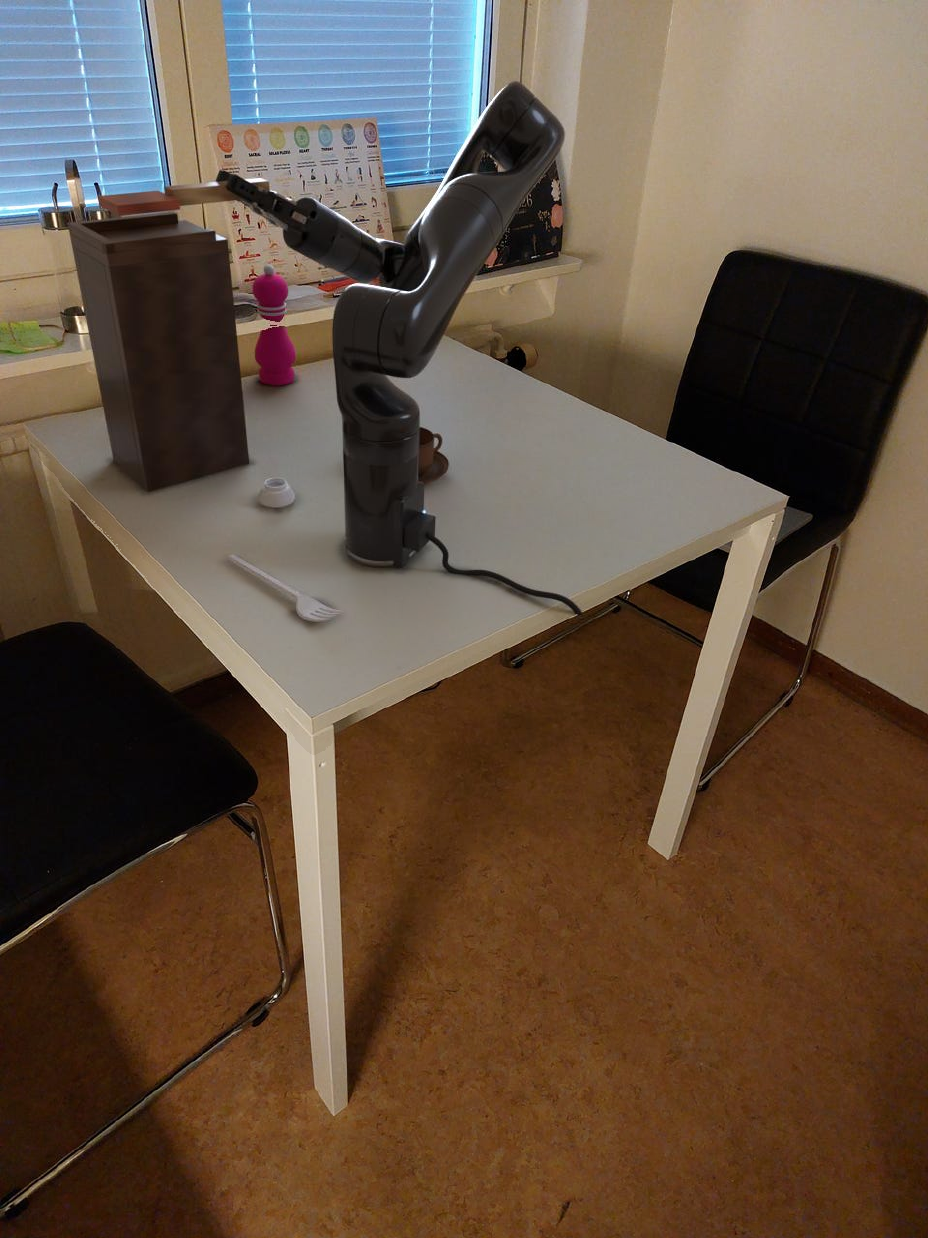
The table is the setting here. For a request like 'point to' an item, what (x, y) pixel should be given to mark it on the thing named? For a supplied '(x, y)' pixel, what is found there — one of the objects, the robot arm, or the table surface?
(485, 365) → the table surface
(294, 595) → the fork
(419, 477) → the cup and saucer
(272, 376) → the pepper mill
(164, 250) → the tall wooden box
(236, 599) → the table surface
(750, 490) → the table surface
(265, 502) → the white jar
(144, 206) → the spatula
